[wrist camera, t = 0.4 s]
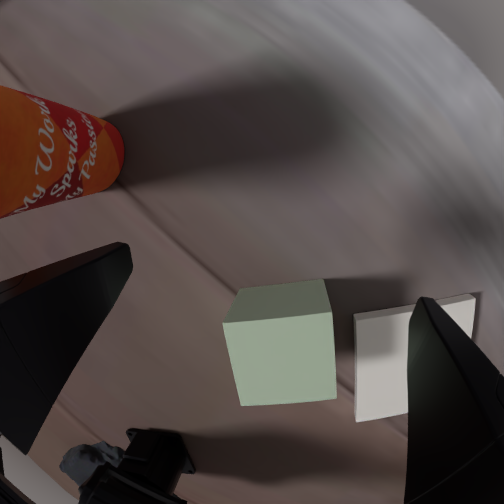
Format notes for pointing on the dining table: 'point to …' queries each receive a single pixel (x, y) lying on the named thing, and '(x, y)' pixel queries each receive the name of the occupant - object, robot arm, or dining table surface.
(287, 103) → the dining table surface
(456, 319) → the tile
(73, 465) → the dark slate chunk
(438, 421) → the robot arm
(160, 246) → the dining table surface
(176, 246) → the dining table surface
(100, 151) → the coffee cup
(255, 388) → the cube
